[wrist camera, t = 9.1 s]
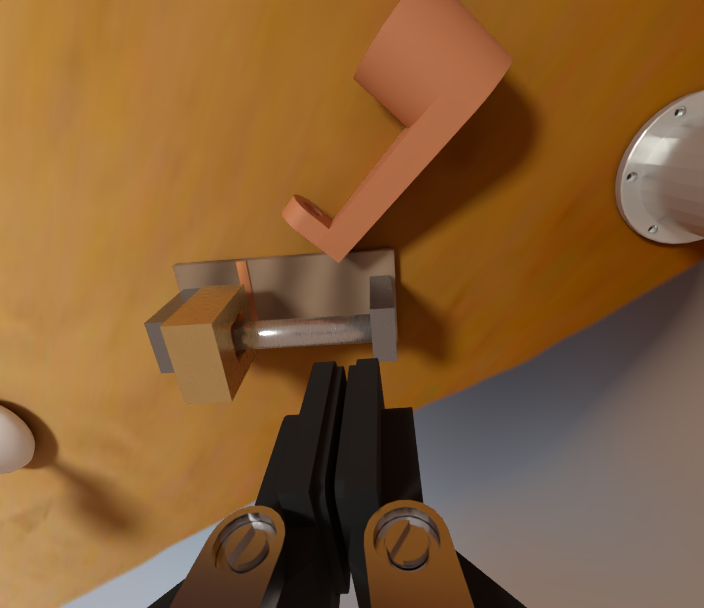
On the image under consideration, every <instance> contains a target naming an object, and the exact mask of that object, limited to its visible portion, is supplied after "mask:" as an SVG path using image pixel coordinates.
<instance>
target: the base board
mask: <svg viewBox="0 0 704 608" xmlns="http://www.w3.org/2000/svg"><path fill="white" fill-rule="evenodd" d="M173 269H174V273H175V276H176V280H177V283H178V287H179V290H180V292H181V291H182V290H183V289H192V288H201V287H202V286H214V285H229V284H243V283H244V286H245V291H246V295H247V300H248V305H249V309H250V314H251V319H252V321H261V320H277V319H294V318H310V317H326V316H343V315H359V314H370V276H382V275H390V279H391V286H392V293H393V300H394V307H395V326H396V341H398V329H397V307H396V284H395V262H394V248H382V249H369V250H355V251H349V252H348V254H347V255H346V256H345V257H344V258H343V259H342V260H341V261H340V262H339V263H338V262H337V261H335V260H334V259H333V258H331V257H330V256H329V255H327V254H326V253H314V254H300V255H287V256H273V257H260V258H246V259H232V260H219V261H205V262H191V263H178V264H175V265H174V266H173Z"/></svg>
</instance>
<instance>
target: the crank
mask: <svg viewBox="0 0 704 608" xmlns="http://www.w3.org/2000/svg"><path fill="white" fill-rule="evenodd" d="M512 60H513V58H512V56H511V55H510V54H509V53H508V52H507V51H506V50H505V49H504V48H503V47H502V46H501V45H500V44H499V43H498V42H497V41H496V40H495V38H494V37H493V36H492V35H491V34H490V33H489V32H488V31H487V30H486V29H485V28H484V27H483V26H482V25H481V24H480V23H479V22H478V20H477V19H476V18H475V17H474V16H473V15H472V14H471V13H470V12H469V11H468V10H467V9H466V8H465V7H464V6H463V5H462V4H461V3H460V1H459V0H400V2H399V3H398V4H397V6H396V7H395V9H394V10H393V12H392V13H391V15H390V16H389V18H388V19H387V21H386V22H385V24H384V25H383V27H382V28H381V30H380V31H379V33H378V34H377V36H376V37H375V39H374V41H373V42H372V44H371V45H370V47H369V49H368V50H367V52H366V54H365V56H364V57H363V59H362V61H361V63H360V65H359V66H358V68H357V70H356V73H355V75H354V79H355V80H356V81H357V82H358V83H359V84H360V85H361V86H362V87H363V88H364V89H365V90H367V91H368V92H369V93H370V94H371V95H372V96H373V97H374V98H375V99H376V100H378V101H379V102H380V103H381V104H382V105H383V106H384V107H385V108H386V109H387V110H388V111H390V112H391V113H392V114H393V115H394V116H395V117H396V118H397V119H398V120H399V121H400V122H402V123H403V124H404V125H405V126H406V127H405V128H404V129H403V131H402V132H401V133H400V134H399V136H398V137H397V138H396V140H395V141H394V142H393V143H392V145H391V146H390V147H389V149H388V150H387V151H386V152H385V154H384V155H383V156H382V158H381V159H380V160H379V161H378V163H377V164H376V165H375V166H374V168H373V169H372V170H371V172H370V173H369V174H368V175H367V177H366V178H365V179H364V181H363V182H362V183H361V184H360V186H359V187H358V188H357V190H356V191H355V192H354V193H353V195H352V196H351V197H350V199H349V200H348V201H347V202H346V204H345V205H344V206H343V208H342V209H341V210H340V211H339V213H338V214H337V215H336V216H335V218H334V219H333V220H332V219H331V218H330V217H328V216H327V215H326V214H325V213H323V212H322V211H321V210H320V209H318V208H317V207H316V206H315V205H313V204H312V203H311V202H310V201H308V200H307V199H305V198H304V197H302V196H299V195H294V196H293V197H292V199H291V200H290V201H289V203H288V204H287V206H286V207H285V208H284V210H283V211H282V216H283V217H284V219H285V220H286V221H287V223H288V224H289V225H290V226H291V227H293V228H294V229H295V230H296V231H297V232H299V233H300V234H301V235H303V236H304V237H305V238H307V239H308V240H309V241H310V242H312V243H313V244H314V245H316V246H317V247H318V248H320V249H321V250H322V251H323V252H325V253H326V254H327V255H329V256H330V257H331V258H333V259H334V260H335V261H337V262H338V263H339V262H340V261H341V260H342V259H343V258H344V257H345V256H346V255H347V254H348V252H349V251H350V250H351V249H352V248H353V247H354V246H355V245H356V244H357V242H358V241H359V240H360V239H361V238H362V237H363V236H364V235H365V234H366V232H367V231H368V230H369V229H370V228H371V227H372V226H373V225H374V224H375V222H376V221H377V220H378V219H379V218H380V217H381V216H382V215H383V214H384V212H385V211H386V210H387V209H388V208H389V207H390V206H391V205H392V204H393V202H394V201H395V200H396V199H397V198H398V197H399V196H400V195H401V194H402V192H403V191H404V190H405V189H406V188H407V187H408V186H409V185H410V184H411V182H412V181H413V180H414V179H415V178H416V177H417V176H418V175H419V174H420V173H421V171H422V170H423V169H424V168H425V167H426V166H427V165H428V164H429V163H430V161H431V160H432V159H433V158H434V157H435V156H436V155H437V154H438V153H439V151H440V150H441V149H442V148H443V147H444V146H445V145H446V144H447V143H448V141H449V140H450V139H451V138H452V137H453V136H454V135H455V134H456V133H457V131H458V130H459V129H460V128H461V127H462V126H463V125H464V124H465V123H466V121H467V120H468V119H469V118H470V117H471V116H472V115H473V114H474V113H475V111H476V110H477V109H478V108H479V107H480V106H481V104H482V103H483V102H484V101H485V100H486V98H487V97H488V96H489V95H490V94H491V92H492V91H493V90H494V88H495V87H496V86H497V84H498V83H499V82H500V80H501V79H502V78H503V76H504V75H505V73H506V72H507V70H508V68H509V67H510V65H511V63H512Z"/></svg>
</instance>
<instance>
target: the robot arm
mask: <svg viewBox="0 0 704 608" xmlns="http://www.w3.org/2000/svg"><path fill="white" fill-rule="evenodd" d="M627 176H628V178H627ZM615 196H616V202H617V207H618V209H619V212H620V214H621V216H622V218H623V219H624V221H625V222H626V223H627V225H628V226H629V227H630V228H631V229H633V230H634V231H635V232H636V233H638V234H640V235H642V236H644V237H646V238H648V239H651V240H654V241H657V242H660V243H669V244H681V243H690V242H694V241H698V240H702V239H704V90H701V91H698V92H694V93H691V94H688V95H686V96H684V97H682V98H680V99H677V100H675V101H673V102H672V103H670V104H669V105H667V106H666V107H664V108H663V109H661V110H660V111H658V112H657V113H656V114H655V115H654V116H653V117H652V118H651V119H650V120H648V121H647V122H646V123H645V124H644V125H643V127H642V128H641V129H640V130H639V132H638V133H637V134H636V135H635V136H634V138H633V139H632V141H631V143H630V144H629V146H628V148H627V149H626V151H625V153H624V155H623V158H622V160H621V163H620V165H619V168H618V173H617V177H616V186H615ZM350 573H351V574H352V579H353V583H354V587H355V592H356V597H357V601H358V606H359V608H527V607H525V606H524V605H523V604H521V603H520V602H519V601H518V600H517V599H515V598H514V597H513V596H512V595H510V594H509V593H508V592H507V591H505V590H504V589H503V588H502V587H501V586H499V585H498V584H497V583H496V582H494V581H493V580H492V579H491V578H489V577H488V576H487V575H485V574H484V573H483V572H482V571H481V570H479V569H478V568H477V567H476V566H474V565H473V564H472V563H471V562H469V561H468V560H467V559H466V558H464V557H463V556H462V555H461V554H460V553H458V552H457V551H456V550H455V548H454V545H453V542H452V539H451V537H450V533H449V530H448V528H447V526H446V524H445V522H444V521H443V518H442V517H440V515H439V514H438V513H437V512H436V511H435V510H434V509H432V508H431V507H429V506H427V505H425V504H424V503H423V497H422V488H421V479H420V471H419V462H418V453H417V445H416V436H415V427H414V419H413V410H412V407H408V408H393V409H385V406H384V398H383V391H382V383H381V375H380V367H379V360H378V358H370V359H357V363H356V365H352V366H349V371H348V379H347V381H346V375H345V369H344V367H343V366H340V367H337V365H336V362H335V361H333V362H320V363H314V364H313V367H312V371H311V374H310V378H309V381H308V385H307V389H306V392H305V396H304V399H303V403H302V406H301V410H300V414H299V415H287V416H285V417H284V419H283V422H282V424H281V427H280V430H279V433H278V436H277V440H276V443H275V446H274V449H273V452H272V455H271V458H270V461H269V464H268V467H267V470H266V473H265V476H264V479H263V482H262V485H261V488H260V491H259V494H258V497H257V500H256V503H255V506H249V507H246V508H243V509H239V510H237V511H236V512H234V513H232V514H230V515H229V516H227V517H226V518H225V519H224V520H223V521H222V522H220V523H219V524H218V525H217V526H216V528H215V529H214V530H213V532H212V533H211V535H210V536H209V537H208V539H207V541H206V543H205V544H204V546H203V548H202V550H201V552H200V553H199V555H198V557H197V559H196V560H195V562H194V564H193V566H192V568H191V569H190V571H189V573H188V575H187V577H186V578H185V579H184V580H183V581H181V582H180V583H179V584H177V585H176V586H175V587H173V588H172V589H171V590H170V591H168V592H167V593H166V594H164V595H163V596H162V597H161V598H159V599H158V600H157V601H155V602H154V603H153V604H151V605H150V606H149V607H147V608H339V603H340V594H348V593H349V588H350V575H351V574H350Z"/></svg>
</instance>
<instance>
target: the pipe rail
mask: <svg viewBox="0 0 704 608" xmlns="http://www.w3.org/2000/svg"><path fill="white" fill-rule="evenodd" d="M199 289H200V288H192V289H183V290H182V291H181V292H180V293H179V294H178V295H177V296H175V297H174V298H173V299H172V300H171V301H170V302H168V303H167V304H166V305H165V306H164V307H163V308H161V309H160V310H159V311H158V312H157V313H156V314H155V315H153V316H152V317H151V318H150V319H149V320H148V321H146V322H145V323H144V324H145V327H146V330H147V333H148V336H149V339H150V342H151V345H152V348H153V351H154V353H155V356H156V359H157V362H158V365H159V368H160V371H161V373H174V369H173V366H172V362H171V359H170V356H169V353H168V350H167V347H166V344H165V341H164V338H163V335H162V332H161V329H160V326H161V325H162V324H163V323H164V322H165V321H166V320H167V319H168V318H170V317H171V316H172V315H173V314H174V313H175V312H176V311H177V310H178V309H179V308H180V307H181V306H182V305H183V304H184V303H185V302H186V301H188V300H189V299H190V298H191V297H192V296H193V295H194V294H195V293H196V292H197V291H198V290H199ZM229 329H230V333H231V337H232V341H233V345H234V350H235V353H238V352H239V350H249V349H267V348H285V347H303V346H321V345H339V344H357V343H372V346H373V358H378V360H379V362H385V361H397V348H396V326H395V307H394V300H393V293H392V286H391V279H390V275H382V276H370V314H359V315H343V316H326V317H310V318H294V319H277V320H261V321H245V322H238V321H237V320H236V319H235V320H234V321H233V323H232V324H231V325H230V327H229Z"/></svg>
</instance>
